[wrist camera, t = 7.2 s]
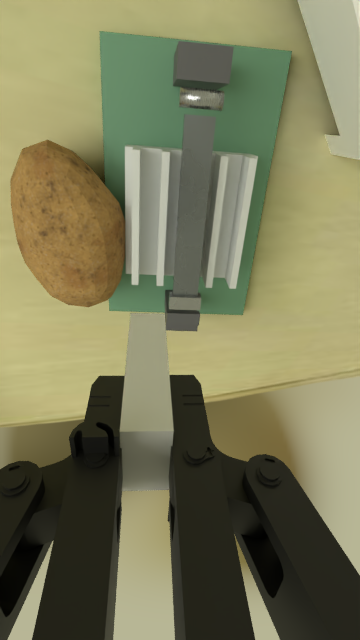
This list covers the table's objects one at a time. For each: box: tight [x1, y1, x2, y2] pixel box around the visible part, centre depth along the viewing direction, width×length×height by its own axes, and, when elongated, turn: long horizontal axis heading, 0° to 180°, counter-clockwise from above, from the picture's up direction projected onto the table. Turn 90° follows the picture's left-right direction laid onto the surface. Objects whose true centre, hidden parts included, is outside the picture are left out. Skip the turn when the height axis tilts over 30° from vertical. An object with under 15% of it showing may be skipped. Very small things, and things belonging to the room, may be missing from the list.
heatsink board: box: [100, 31, 292, 331], centre depth 31 cm, size 24×15×8 cm, turn 176°
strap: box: [169, 87, 224, 310], centre depth 27 cm, size 17×3×1 cm, turn 176°
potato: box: [11, 140, 125, 307], centre depth 31 cm, size 10×14×8 cm
